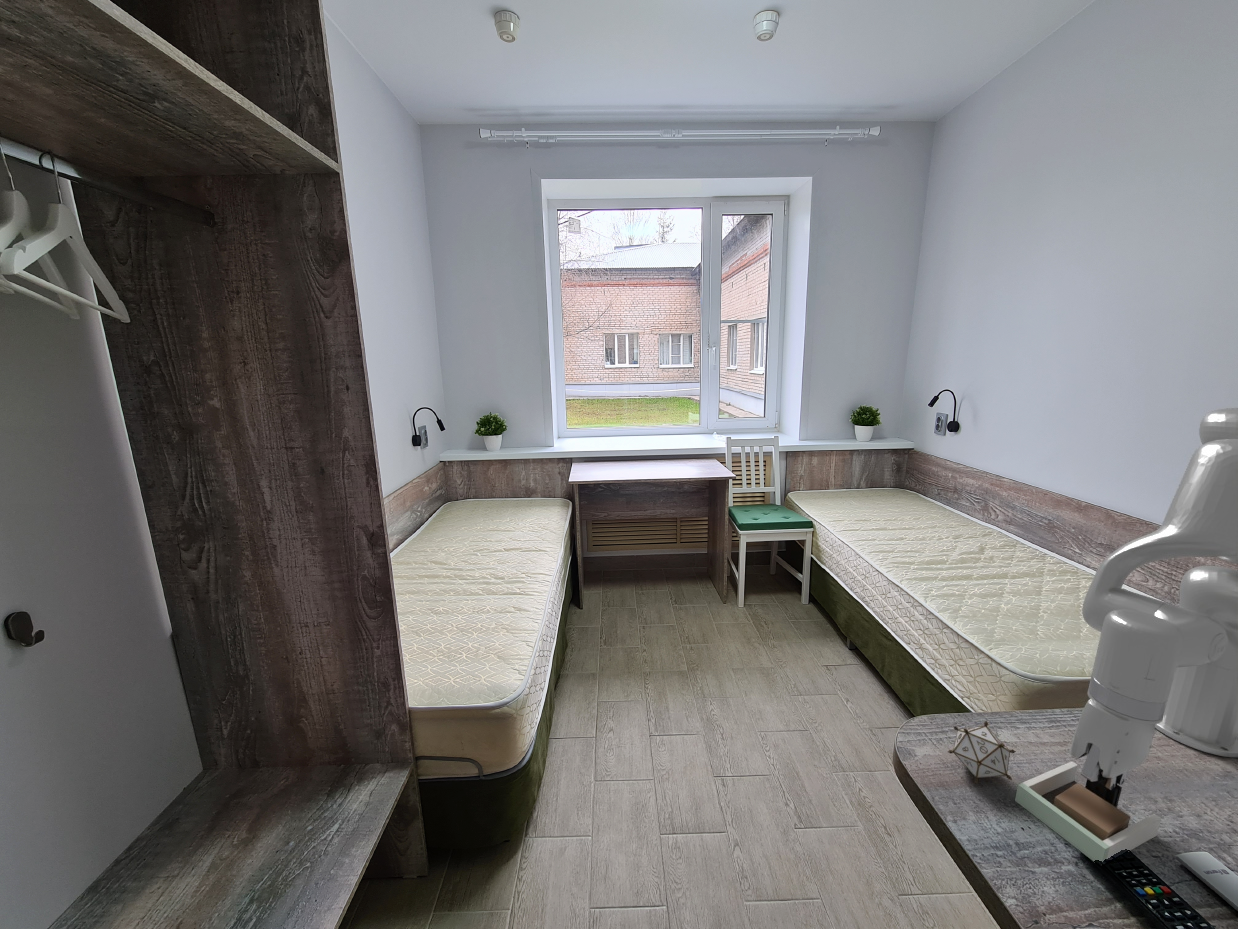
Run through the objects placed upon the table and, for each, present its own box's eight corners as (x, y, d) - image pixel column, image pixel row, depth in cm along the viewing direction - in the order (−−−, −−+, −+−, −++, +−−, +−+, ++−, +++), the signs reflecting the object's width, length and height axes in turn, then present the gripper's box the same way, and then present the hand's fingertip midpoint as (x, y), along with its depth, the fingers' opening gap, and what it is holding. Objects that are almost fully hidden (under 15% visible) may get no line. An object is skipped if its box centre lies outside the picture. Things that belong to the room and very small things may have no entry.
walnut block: (1072, 804, 74) (1077, 783, 73) (1124, 839, 68) (1130, 816, 68) (1050, 819, 72) (1055, 797, 71) (1102, 856, 66) (1108, 833, 65)
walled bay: (1068, 776, 78) (1071, 761, 78) (1156, 835, 69) (1161, 818, 68) (1014, 800, 74) (1018, 784, 74) (1100, 867, 65) (1105, 849, 64)
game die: (988, 798, 79) (1039, 788, 72) (937, 775, 80) (982, 763, 73) (980, 741, 85) (1025, 727, 78) (932, 720, 86) (973, 704, 79)
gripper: (1123, 669, 74) (1099, 769, 78) (1061, 691, 70) (1038, 796, 73) (1192, 701, 67) (1162, 808, 71) (1128, 728, 63) (1100, 841, 66)
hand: (1099, 802), depth 72 cm, fingers closed
